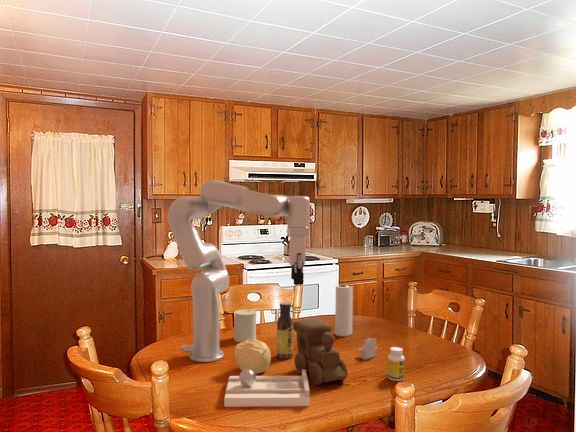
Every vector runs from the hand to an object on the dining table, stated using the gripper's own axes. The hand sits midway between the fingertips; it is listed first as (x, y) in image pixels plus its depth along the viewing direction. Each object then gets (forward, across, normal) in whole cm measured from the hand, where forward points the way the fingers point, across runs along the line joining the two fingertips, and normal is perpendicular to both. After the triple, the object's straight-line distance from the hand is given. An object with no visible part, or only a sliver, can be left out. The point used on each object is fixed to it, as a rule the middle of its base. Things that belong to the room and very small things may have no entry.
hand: (297, 281), depth 158 cm
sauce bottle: (+31, -12, -3) cm, 33 cm away
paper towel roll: (+30, -38, +24) cm, 54 cm away
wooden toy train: (+30, +7, +7) cm, 32 cm away
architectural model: (+31, -10, +28) cm, 43 cm away
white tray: (+30, +20, -10) cm, 38 cm away
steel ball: (+25, +20, -16) cm, 36 cm away
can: (+31, -34, -18) cm, 49 cm away
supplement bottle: (+30, +10, +32) cm, 45 cm away
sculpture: (+31, +1, -14) cm, 34 cm away
